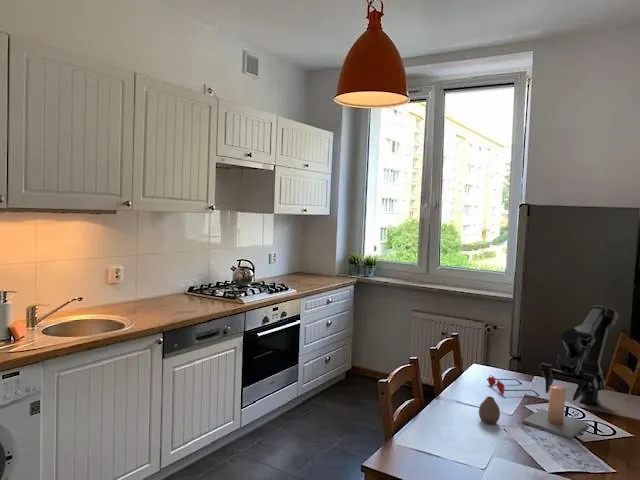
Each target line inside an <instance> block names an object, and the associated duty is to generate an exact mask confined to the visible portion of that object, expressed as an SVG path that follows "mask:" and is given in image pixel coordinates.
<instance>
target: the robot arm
mask: <svg viewBox="0 0 640 480" xmlns="http://www.w3.org/2000/svg"><path fill="white" fill-rule="evenodd" d="M618 320H619V313H618V311H616V309H615V308H608V307H606V306H603V305H597V304H595V305H591V307H590V312H589V313H588V314H587V316H586V317H585V319H584V320H583V323H581V324H580V325H577V326H575V327H574V328H573V327H571V328H570V330H565V331H564V332H563V333H562V334H561V337H560V338H561V340H562V343H563V346H564V348H565V350H566V354H565V355H560V354H558V355H557V359H556V363H555V364H556V365H557V366H558V369H555V368H554V366H553V364H549V363H547V362H546V363H545V362H541V363H540V364H539V367H538V371H540V374H541V376H542V377H543V378H544V380H545V393H546V394H548V393H549V392H550V386H551V385H553V382H554V377H555V376H557V377H561V378H564V379H569V380H573V381H576V385H577V388H576V390H575V392H574V394H573V397H572V401H574V402H575V401H577V400H578V399H579V398H580V399H579V401H578V402H579V403H581V404H587V405H591V406H596V407H599V404H600V402H601V401H600V400H599V392H600V391H605V387H606V386H605V385H606V381H605V379H604V376H603V370H602V368H601V361H602V357H603V353H604V349H605V345H606V342H607V337H608V333H609V331H611V330H612V329H613V328H614V327H615V325H616V322H617V321H618ZM586 348H589V349H588V350H589V351H588V354H587V350H586ZM585 358H587V359H586V360H585V361H584V359H585ZM559 369H560V370H559Z"/></svg>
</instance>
